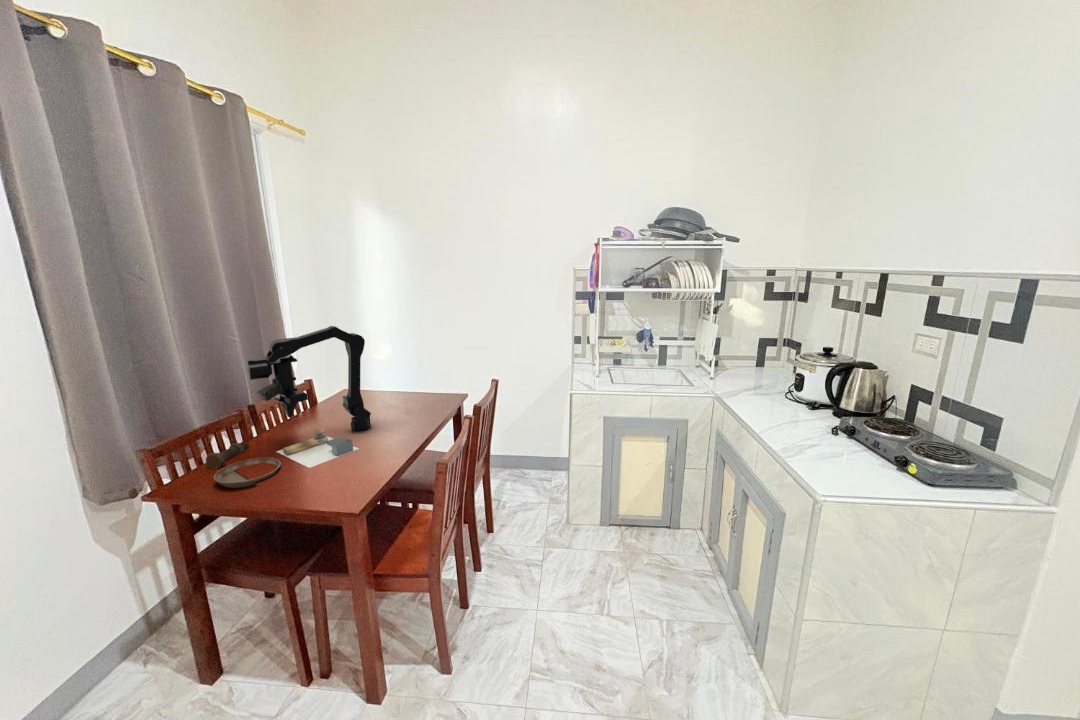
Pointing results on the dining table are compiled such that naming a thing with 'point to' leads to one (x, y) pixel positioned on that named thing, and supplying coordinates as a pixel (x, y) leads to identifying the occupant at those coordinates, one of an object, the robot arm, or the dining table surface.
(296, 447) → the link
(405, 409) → the dining table surface
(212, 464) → the bolt
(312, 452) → the base plate
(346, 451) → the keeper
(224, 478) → the plant saucer
